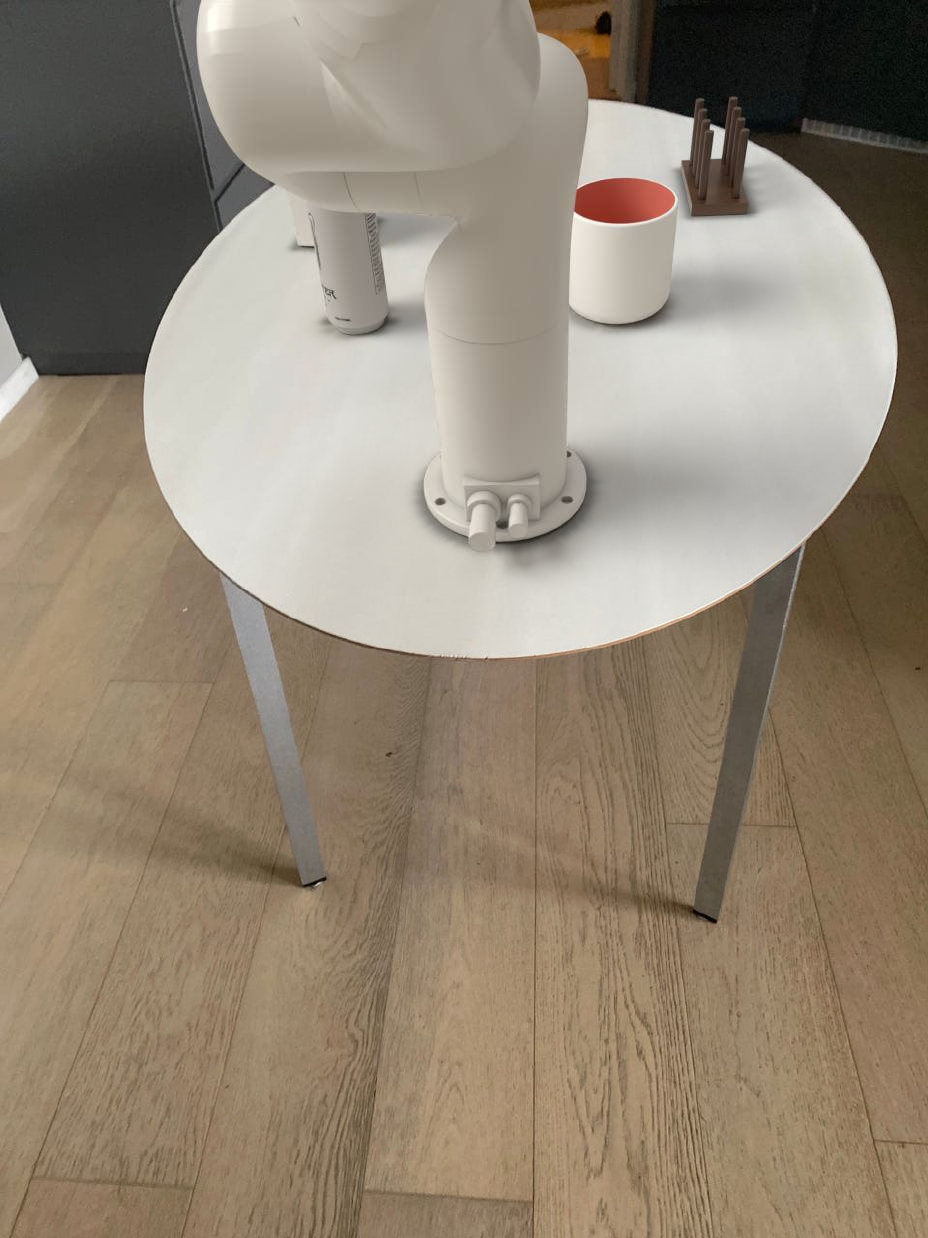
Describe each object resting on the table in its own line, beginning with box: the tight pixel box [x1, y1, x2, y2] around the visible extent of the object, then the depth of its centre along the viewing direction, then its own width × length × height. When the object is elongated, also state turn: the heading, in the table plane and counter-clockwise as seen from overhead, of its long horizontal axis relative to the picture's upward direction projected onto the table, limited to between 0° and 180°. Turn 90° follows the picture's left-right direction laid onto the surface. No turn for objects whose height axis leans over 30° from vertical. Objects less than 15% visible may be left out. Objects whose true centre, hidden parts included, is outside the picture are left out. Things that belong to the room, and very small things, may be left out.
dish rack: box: [680, 96, 750, 217], centre depth 105 cm, size 12×6×8 cm, turn 177°
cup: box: [569, 176, 680, 325], centre depth 89 cm, size 10×10×10 cm
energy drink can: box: [306, 201, 390, 335], centre depth 88 cm, size 6×6×15 cm
